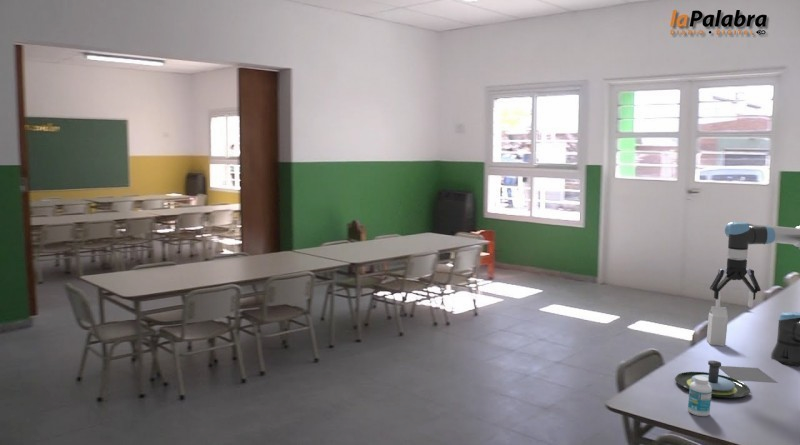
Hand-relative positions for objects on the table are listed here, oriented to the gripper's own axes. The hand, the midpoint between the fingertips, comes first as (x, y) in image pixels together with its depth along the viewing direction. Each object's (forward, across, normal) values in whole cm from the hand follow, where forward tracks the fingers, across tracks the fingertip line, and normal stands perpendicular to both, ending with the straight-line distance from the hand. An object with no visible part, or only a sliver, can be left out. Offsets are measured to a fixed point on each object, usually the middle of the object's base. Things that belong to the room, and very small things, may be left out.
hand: (733, 306), depth 277 cm
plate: (+30, +15, +18) cm, 38 cm away
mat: (+30, -7, 0) cm, 31 cm away
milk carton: (+31, -13, -46) cm, 57 cm away
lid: (+28, +14, +18) cm, 36 cm away
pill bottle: (+29, +31, +45) cm, 62 cm away
